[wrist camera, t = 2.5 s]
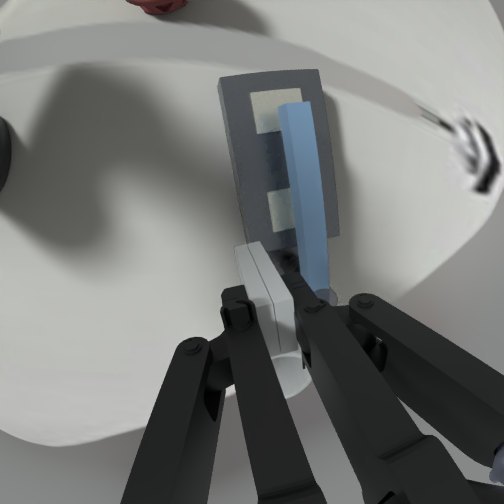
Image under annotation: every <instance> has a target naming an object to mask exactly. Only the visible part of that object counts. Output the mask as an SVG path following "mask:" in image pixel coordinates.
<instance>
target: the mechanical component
mask: <svg viewBox="0 0 504 504" xmlns="http://www.w3.org/2000/svg"><path fill="white" fill-rule="evenodd" d="M126 1H127V2H129V3H131V4H133V5H137V6H140V7H141V8H142V9H143V10H144V12H145V13H147V14H150V13H152V14H163V13H168V12H171V11H174V10H176V9H177V8H179V7H183V6H185V5H186V4H187V0H126Z"/></svg>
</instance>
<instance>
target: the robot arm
mask: <svg viewBox="0 0 504 504" xmlns="http://www.w3.org/2000/svg"><path fill="white" fill-rule="evenodd" d="M10 160H11V142H10V136H9V132H8V129H7V126H6V124H5V122H4V121H3V120H2V118H1V117H0V191H1V189H2V188H3V186H4V183H5V181H6V178H7V175H8V171H9V167H10ZM234 251H235V256H236V261H237V266H238V270H239V275H240V280H241V284H242V285H239V286H235V287H231V288H226V289H224V291H223V292H222V294H221V298H222V305H223V306H222V307H221V310H220V314H221V317H222V321H223V324H224V328H225V330H224V331H223V333H222V334H221V335H220V336H218V337H217V338H215V339H213V340H211V341H207V339H205V338H202V337H192V338H188V339H186V340H184V341H182V342H181V343H180V344H179V345H178V346H177V348H176V350H175V353H174V355H173V358H172V360H171V363H170V365H169V368H168V371H167V373H166V376H165V378H164V381H163V384H162V386H161V389H160V391H159V394H158V397H157V399H156V402H155V405H154V407H153V410H152V413H151V416H150V418H149V421H148V424H147V427H146V430H145V432H144V435H143V438H142V441H141V444H140V446H139V449H138V452H137V455H136V458H135V461H134V464H133V467H132V470H131V473H130V475H129V479H128V482H127V485H126V488H125V491H124V494H123V497H122V500H121V503H120V504H207V501H208V494H209V489H210V483H211V476H212V471H213V465H214V458H215V453H216V447H217V441H218V434H219V429H220V423H221V416H222V411H223V405H224V399H225V393H226V388H227V387H229V386H231V385H233V384H234V385H235V390H236V395H237V400H238V406H239V411H240V416H241V421H242V425H243V431H244V435H245V440H246V445H247V450H248V455H249V459H250V464H251V468H252V473H253V477H254V481H255V486H256V490H257V495H258V504H327V502H326V499H325V497H324V495H323V492H322V491H321V488H320V487H319V485H318V484H317V483H316V481H315V479H314V476H313V473H312V471H311V468H310V465H309V463H308V460H307V457H306V454H305V452H304V449H303V446H302V444H301V441H300V438H299V435H298V433H297V430H296V427H295V424H294V422H293V419H292V416H291V413H290V411H289V408H288V405H287V402H286V399H285V397H284V394H283V391H282V388H281V385H280V382H279V380H278V377H277V374H276V371H275V368H274V365H273V363H272V360H271V357H274V356H277V355H281V354H285V353H289V352H292V351H296V350H298V343H299V345H300V347H301V354H302V366H303V369H305V365H306V367H307V369H308V372H309V374H310V376H311V378H312V380H313V382H314V385H315V386H316V389H317V391H318V393H319V395H320V398H321V400H322V402H323V404H324V406H325V409H326V411H327V413H328V415H329V417H330V419H331V422H332V424H333V426H334V428H335V430H336V432H337V435H338V437H339V439H340V441H341V443H342V446H343V448H344V450H345V452H346V454H347V456H348V459H349V460H350V463H351V465H352V467H353V469H354V472H355V474H356V476H357V478H358V480H359V482H360V485H361V488H362V495H363V500H364V502H365V504H504V486H497V485H492V484H486V483H481V482H476V481H472V480H467V479H465V477H464V476H463V474H462V472H461V471H460V470H459V468H458V467H457V465H456V463H455V462H454V460H453V459H452V457H451V456H450V454H449V453H448V451H447V450H446V449H445V447H444V445H443V444H442V443H441V441H440V440H439V439H438V438H437V437H435V436H433V435H424V434H422V433H421V432H420V431H419V429H418V427H417V426H416V424H415V423H414V421H413V420H412V418H411V417H410V415H409V414H408V413H407V411H406V410H405V408H404V407H403V405H402V404H401V403H400V401H399V399H400V400H401V401H403V402H404V403H405V404H406V405H407V406H408V407H410V408H411V409H412V410H413V411H414V412H415V413H417V414H418V415H419V416H420V417H421V418H423V419H424V420H425V421H426V422H427V423H429V424H430V425H431V426H432V427H433V428H434V429H436V430H437V431H438V432H439V433H440V434H442V435H443V436H444V437H445V438H446V439H448V440H449V441H450V442H451V443H453V445H455V446H456V447H457V448H458V449H460V450H461V451H462V452H463V453H464V454H466V455H467V456H469V457H470V458H471V459H473V460H474V461H476V462H478V463H480V464H482V465H484V466H487V467H490V468H492V470H491V472H490V475H489V478H490V480H491V481H492V482H494V483H496V482H501V483H503V485H504V375H502V374H501V373H499V372H498V371H496V370H494V369H493V368H491V367H490V366H488V365H487V364H485V363H484V362H482V361H481V360H479V359H478V358H476V357H475V356H473V355H471V354H470V353H468V352H467V351H465V350H464V349H462V348H460V347H459V346H457V345H456V344H454V343H452V342H451V341H449V340H448V339H446V338H445V337H443V336H441V335H440V334H438V333H436V332H435V331H433V330H432V329H430V328H428V327H427V326H425V325H424V324H422V323H420V322H419V321H417V320H415V319H414V318H412V317H410V316H409V315H407V314H406V313H404V312H402V311H401V310H399V309H397V308H396V307H394V306H392V305H391V304H389V303H387V302H386V301H384V300H382V299H381V298H379V297H377V296H375V295H373V294H368V293H362V294H357V295H354V296H353V297H352V298H351V299H350V301H349V305H346V306H331V305H330V304H329V302H327V301H326V300H324V299H321V298H318V297H317V296H316V295H315V293H314V292H313V290H312V289H311V288H310V286H309V285H308V284H307V282H306V281H305V279H304V278H303V277H302V275H300V274H298V273H296V272H291V273H287V274H283V275H279V273H278V272H277V270H276V268H275V266H274V265H273V263H272V261H271V260H270V258H269V256H268V255H267V253H266V251H265V250H264V248H263V246H262V244H261V243H260V241H258V242H253V243H249V244H244V245H240V246H235V247H234ZM377 337H378V338H380V339H381V340H382V341H380V340H379V339H377ZM280 351H281V352H280ZM397 397H398V398H399V399H398V398H397Z"/></svg>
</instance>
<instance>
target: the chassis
mask: <svg viewBox="0 0 504 504" xmlns="http://www.w3.org/2000/svg"><path fill="white" fill-rule="evenodd" d="M217 87H218V93H219V98H220V104H221V109H222V114H223V120H224V125H225V131H226V136H227V141H228V147H229V152H230V157H231V163H232V168H233V173H234V179H235V184H236V189H237V195H238V200H239V205H240V211H241V216H242V221H243V226H244V232H245V237H246V242H247V244H249V243H253V242H258V241H260V243H261V244H262V246H263V248H264V250H265V251H266V252H268V251H273V250H277V249H282V248H286V247H290V246H295V245H297V237H296V229H295V220H294V213H293V205H292V198H291V190H290V183H289V176H288V170H287V163H286V156H285V150H284V144H283V137H282V131H281V126H280V120H279V114H278V108H277V107H279V106H281V105H283V104H285V103H294V102H307V101H310V105H311V111H312V117H313V123H314V130H315V136H316V143H317V151H318V158H319V166H320V174H321V182H322V192H323V201H324V212H325V223H326V235H327V238H330V237H334V236H338V235H339V220H338V207H337V195H336V184H335V175H334V166H333V157H332V149H331V142H330V135H329V128H328V121H327V115H326V109H325V103H324V97H323V91H322V86H321V81H320V76H319V71H318V69H304V70H283V71H269V72H259V73H249V74H241V75H234V76H227V77H221V78H219V82H218V86H217Z"/></svg>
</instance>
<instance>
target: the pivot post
mask: <svg viewBox="0 0 504 504" xmlns="http://www.w3.org/2000/svg"><path fill="white" fill-rule="evenodd" d="M269 253H270V260H271V261H272V263H273V265H274V266H275V268H276V270H277V272H278V273H279V275H283V274H287V273H291V272H296V273H298V274H300V275H301V273H300V263H299V254H298V245H295V246H290V247H286V248H282V249H277V250H273V251H269Z"/></svg>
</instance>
